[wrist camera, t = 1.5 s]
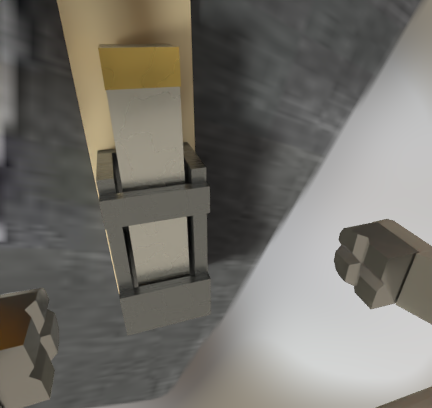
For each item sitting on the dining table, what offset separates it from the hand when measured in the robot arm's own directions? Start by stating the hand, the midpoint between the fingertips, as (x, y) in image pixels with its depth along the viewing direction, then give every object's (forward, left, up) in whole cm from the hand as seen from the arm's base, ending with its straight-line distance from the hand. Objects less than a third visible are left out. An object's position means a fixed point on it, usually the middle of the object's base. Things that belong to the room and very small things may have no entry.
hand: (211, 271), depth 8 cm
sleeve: (0, -9, -18) cm, 20 cm away
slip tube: (0, -5, -16) cm, 17 cm away
